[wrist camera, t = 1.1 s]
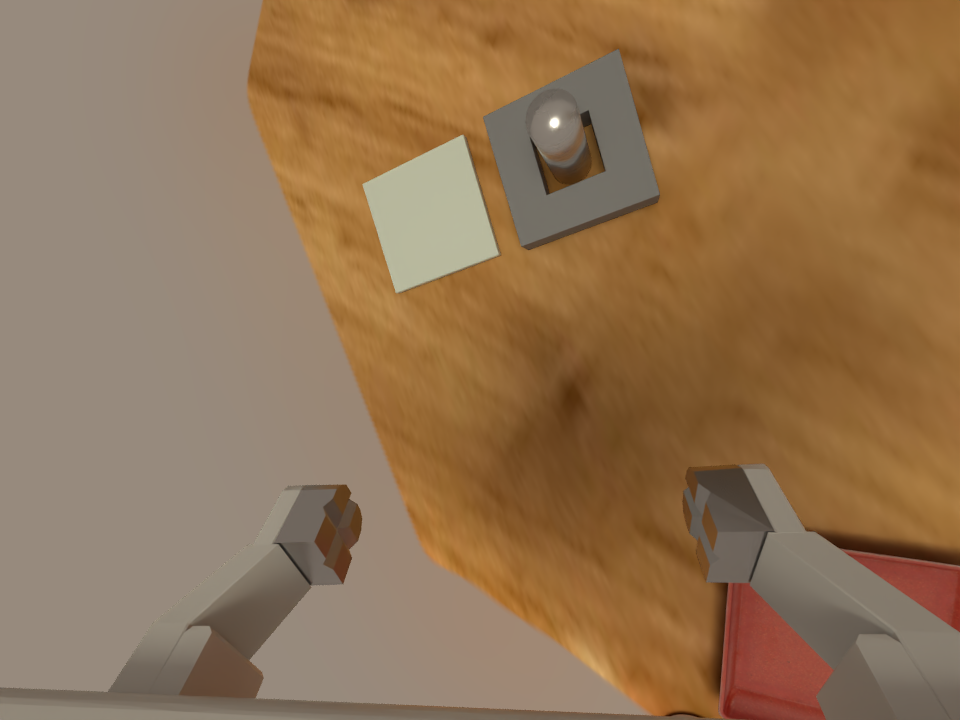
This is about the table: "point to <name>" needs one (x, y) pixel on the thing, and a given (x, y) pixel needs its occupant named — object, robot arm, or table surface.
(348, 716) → the robot arm
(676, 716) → the supplement bottle
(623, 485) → the table surface
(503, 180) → the square socket
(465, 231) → the pad
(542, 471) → the table surface
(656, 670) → the table surface
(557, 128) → the peg
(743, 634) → the plant saucer
